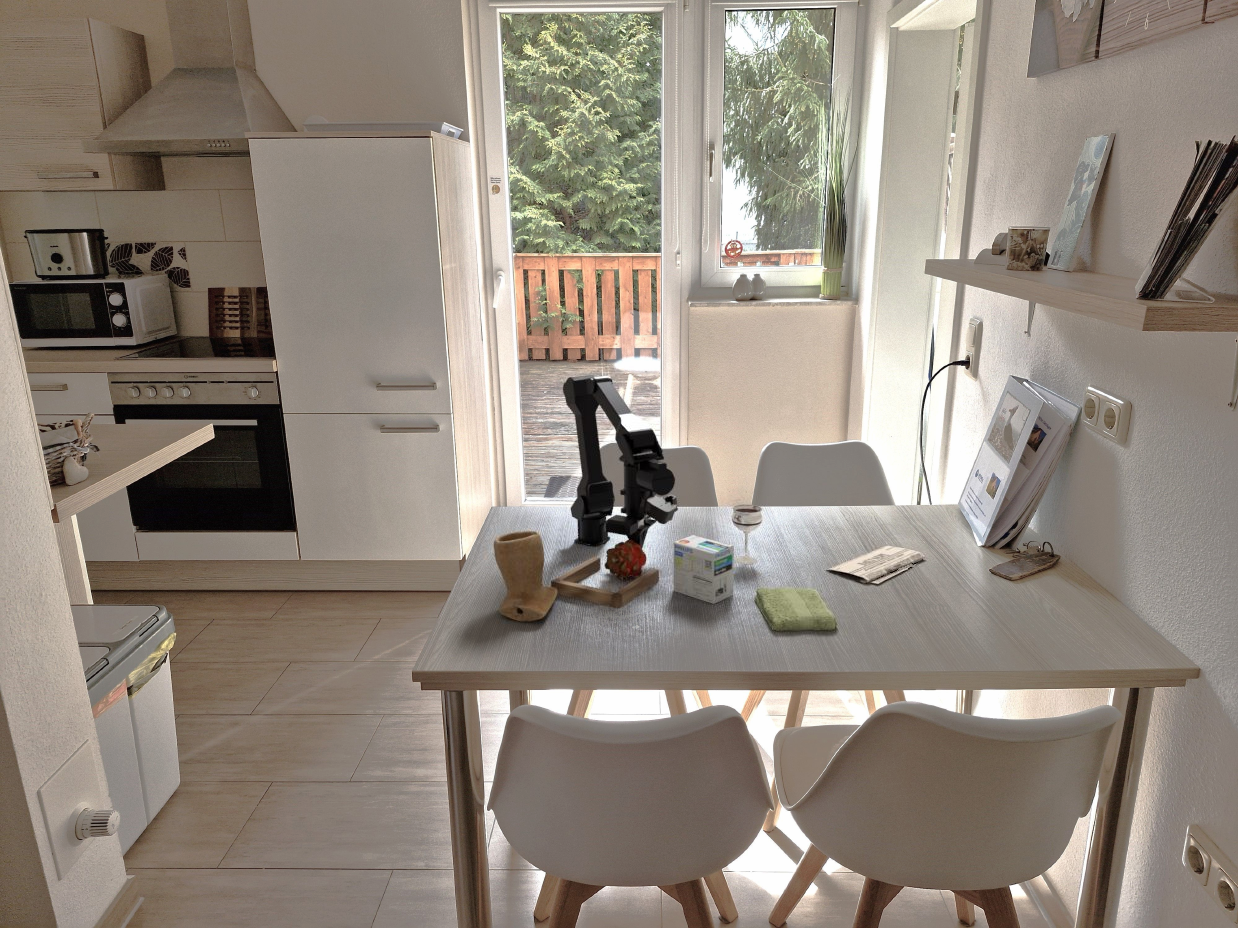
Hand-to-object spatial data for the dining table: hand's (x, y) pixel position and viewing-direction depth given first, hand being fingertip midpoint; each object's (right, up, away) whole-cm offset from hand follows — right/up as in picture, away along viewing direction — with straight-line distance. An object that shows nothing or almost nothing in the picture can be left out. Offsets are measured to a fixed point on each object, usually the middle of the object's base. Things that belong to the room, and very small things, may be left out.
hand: (638, 553), depth 192 cm
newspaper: (+53, -4, 0) cm, 53 cm away
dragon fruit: (-3, -5, -4) cm, 7 cm away
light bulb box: (+13, -7, -14) cm, 20 cm away
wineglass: (+24, -2, +4) cm, 25 cm away
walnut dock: (-7, -6, -10) cm, 13 cm away
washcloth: (+29, -10, -24) cm, 39 cm away
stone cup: (-23, -9, -21) cm, 32 cm away
